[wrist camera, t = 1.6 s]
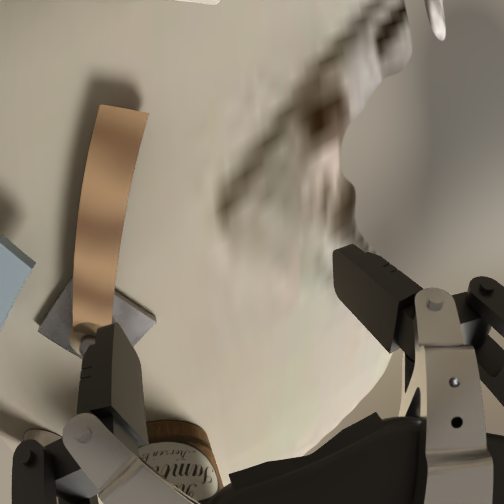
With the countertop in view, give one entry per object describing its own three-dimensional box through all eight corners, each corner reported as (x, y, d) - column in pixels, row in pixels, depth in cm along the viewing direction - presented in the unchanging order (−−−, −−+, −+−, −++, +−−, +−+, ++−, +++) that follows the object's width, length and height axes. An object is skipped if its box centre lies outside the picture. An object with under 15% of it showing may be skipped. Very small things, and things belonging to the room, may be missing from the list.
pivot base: (108, 367, 33) (108, 396, 28) (39, 326, 27) (30, 354, 23) (155, 316, 32) (159, 345, 28) (80, 264, 27) (71, 289, 23)
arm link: (114, 349, 30) (114, 361, 29) (72, 343, 28) (70, 355, 27) (154, 115, 23) (155, 114, 21) (98, 104, 20) (94, 103, 19)
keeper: (5, 319, 26) (-8, 349, 21) (-21, 300, 23) (-37, 327, 19) (47, 244, 25) (32, 268, 20) (18, 220, 23) (-3, 240, 18)
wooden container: (199, 411, 41) (245, 542, 22) (213, 452, 47) (251, 552, 29) (107, 426, 37) (124, 557, 18) (137, 465, 43) (160, 567, 25)
